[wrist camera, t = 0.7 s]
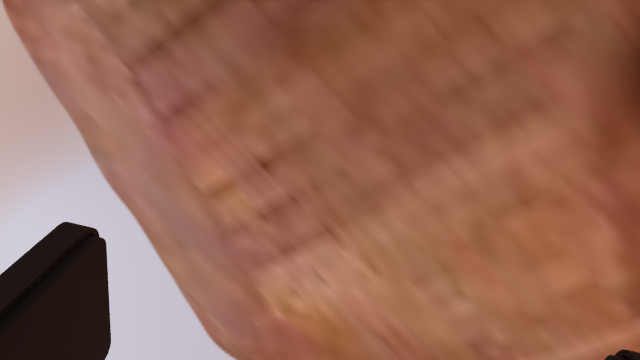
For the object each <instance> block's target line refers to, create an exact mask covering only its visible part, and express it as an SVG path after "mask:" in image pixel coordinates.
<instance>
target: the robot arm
mask: <svg viewBox="0 0 640 360" xmlns="http://www.w3.org/2000/svg"><path fill="white" fill-rule="evenodd" d="M110 344H111V333H110V313H109V293H108V272H107V252H106V242H105V240H104V239H103V238H100V237H99V233H98V231H97V230H96V229H94V228H91V227H87V226H82V225H78V224H74V223H69V222H63V223H62V224H60V225H58V226H57V227H56V228H55V229H54V230H52V231H51V232H50V233H49V234H48V235H47V236H45V237H44V238H43V239H42V240H41V241H40V242H38V243H37V244H36V245H35V246H34V247H32V248H31V249H30V250H29V251H28V252H27V253H25V254H24V255H23V256H22V257H21V258H20V259H18V260H17V261H16V262H15V263H14V264H12V265H11V266H10V267H9V268H8V269H7V270H5V272H3V273H2V274H1V275H0V360H105V358H106V356H107V354H108V351H109V348H110ZM605 360H640V353H638V352H633V351H629V350H621V351H619V352H617V354H616V355H615V356H613V355H609V356H608V357H606V359H605Z"/></svg>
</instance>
